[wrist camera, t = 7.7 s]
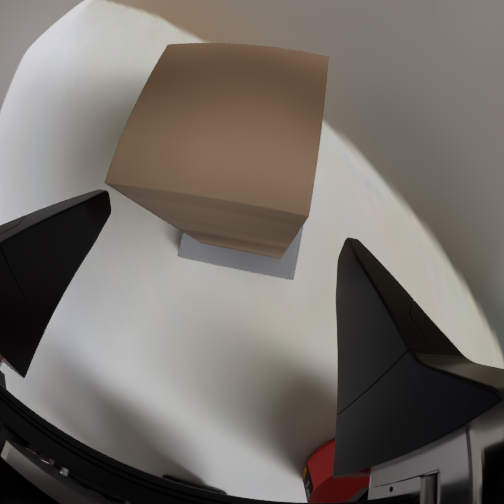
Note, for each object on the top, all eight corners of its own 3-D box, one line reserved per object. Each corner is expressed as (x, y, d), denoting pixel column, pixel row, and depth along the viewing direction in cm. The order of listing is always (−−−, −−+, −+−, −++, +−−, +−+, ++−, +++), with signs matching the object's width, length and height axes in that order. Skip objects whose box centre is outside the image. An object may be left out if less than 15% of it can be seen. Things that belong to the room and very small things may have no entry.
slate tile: (289, 279, 21) (293, 279, 18) (186, 259, 21) (177, 255, 18) (306, 181, 21) (311, 169, 19) (210, 164, 22) (204, 150, 19)
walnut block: (280, 259, 18) (308, 215, 6) (200, 242, 19) (104, 182, 7) (295, 181, 19) (328, 56, 7) (218, 168, 19) (167, 44, 7)
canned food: (284, 463, 18) (296, 555, 7) (361, 414, 19) (422, 487, 8) (327, 499, 17) (351, 574, 6) (395, 455, 18) (447, 518, 7)
